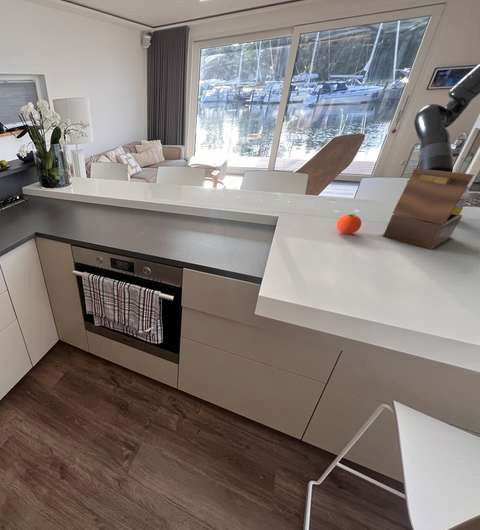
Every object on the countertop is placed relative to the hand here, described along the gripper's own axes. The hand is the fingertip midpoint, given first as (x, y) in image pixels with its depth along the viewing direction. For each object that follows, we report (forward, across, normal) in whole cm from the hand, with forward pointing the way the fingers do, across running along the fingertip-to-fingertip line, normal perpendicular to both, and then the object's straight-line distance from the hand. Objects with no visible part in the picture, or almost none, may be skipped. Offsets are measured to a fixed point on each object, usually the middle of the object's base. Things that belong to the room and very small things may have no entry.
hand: (436, 207), depth 91 cm
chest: (+7, -2, +7) cm, 10 cm away
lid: (-1, -5, -6) cm, 8 cm away
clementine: (+8, -21, +7) cm, 24 cm away
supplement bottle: (-6, +13, +21) cm, 25 cm away
